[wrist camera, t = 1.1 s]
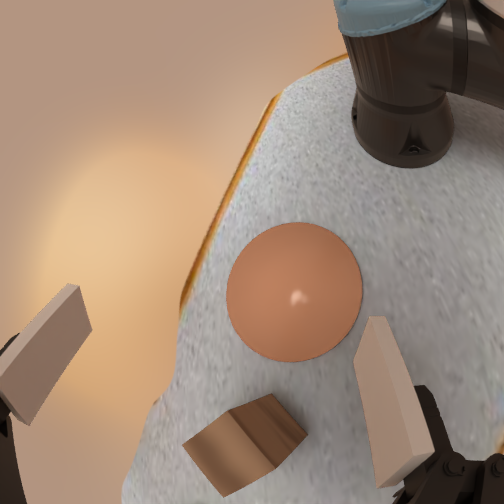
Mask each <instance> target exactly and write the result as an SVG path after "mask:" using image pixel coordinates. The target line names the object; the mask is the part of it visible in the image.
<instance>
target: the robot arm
mask: <svg viewBox="0 0 504 504" xmlns="http://www.w3.org/2000/svg"><path fill="white" fill-rule="evenodd" d="M334 6H335V10H336V13H337V17H338V27H339V30H340V32H341V33H342V36H343V39H344V42H345V45H346V48H347V52H348V55H349V59H350V62H351V66H352V70H353V74H354V77H355V81H356V85H357V88H356V93H355V98H354V102H353V107H352V113H351V117H352V124H353V128H354V132H355V135H356V138H357V140H358V141H359V143H360V144H361V146H362V147H363V148H364V149H365V150H366V151H367V152H368V153H369V154H370V155H372V156H373V157H375V158H376V159H378V160H380V161H382V162H384V163H387V164H390V165H393V166H397V167H404V168H417V167H423V166H427V165H430V164H432V163H434V162H436V161H438V160H439V159H440V158H442V157H443V156H444V155H445V154H446V152H447V151H448V149H449V147H450V145H451V142H452V137H453V132H454V121H453V116H452V113H451V110H450V106H449V102H448V99H447V96H446V92H451V93H455V94H458V95H462V96H465V97H468V98H472V99H475V100H478V101H481V102H484V103H487V104H490V105H492V106H495V107H498V108H501V109H503V110H504V0H334ZM91 331H92V328H91V325H90V321H89V318H88V315H87V312H86V308H85V305H84V301H83V298H82V294H81V291H80V287H79V286H78V285H72V284H67V285H66V286H65V287H64V288H63V289H62V290H61V291H60V292H59V293H58V294H57V295H56V296H55V297H54V298H53V299H52V300H51V301H50V302H49V303H48V304H47V305H46V306H45V307H44V308H43V309H42V310H41V311H40V312H39V313H38V314H37V316H36V317H35V318H34V319H33V320H32V321H31V322H30V323H29V324H28V325H27V326H26V327H25V329H24V330H23V331H22V332H21V333H18V334H17V335H15V336H14V337H12V338H11V339H10V340H9V341H8V342H7V343H6V344H5V345H4V348H2V349H1V350H0V504H27V502H26V498H25V495H24V491H23V487H22V483H21V478H20V474H19V469H18V464H17V458H16V453H15V446H14V439H13V432H12V422H11V419H10V416H9V413H10V412H12V413H13V415H14V416H15V417H16V418H17V419H18V420H19V421H21V422H23V423H24V424H26V425H28V426H30V424H31V422H32V421H33V419H34V417H35V416H36V414H37V412H38V411H39V409H40V407H41V406H42V404H43V403H44V401H45V399H46V398H47V396H48V395H49V393H50V392H51V390H52V388H53V387H54V385H55V384H56V382H57V381H58V379H59V377H60V376H61V375H62V373H63V372H64V370H65V369H66V367H67V365H68V364H69V363H70V361H71V360H72V358H73V357H74V355H75V354H76V353H77V351H78V350H79V348H80V347H81V345H82V344H83V343H84V341H85V340H86V338H87V337H88V336H89V334H90V333H91ZM353 364H354V368H355V373H356V377H357V382H358V386H359V391H360V396H361V400H362V405H363V410H364V415H365V420H366V426H367V431H368V436H369V442H370V448H371V454H372V460H373V466H374V473H375V480H376V487H377V488H384V487H389V486H395V485H397V484H398V483H399V482H401V481H402V480H404V485H405V486H404V487H403V488H402V489H400V490H399V491H398V492H396V493H395V494H394V495H393V497H396V496H397V498H396V499H395V501H394V502H393V504H504V455H503V454H500V453H497V454H493V455H492V456H490V457H489V458H488V459H487V460H485V461H471V460H465V458H464V457H463V456H462V455H461V454H459V453H457V452H454V451H453V449H452V447H451V444H450V441H449V438H448V435H447V432H446V429H445V426H444V423H443V420H442V418H441V417H440V412H439V410H438V408H437V404H436V402H435V399H434V397H433V394H432V393H431V392H430V391H429V390H428V389H427V387H426V386H425V385H420V386H413V383H412V381H411V378H410V375H409V373H408V370H407V368H406V365H405V363H404V360H403V358H402V355H401V353H400V350H399V348H398V345H397V343H396V340H395V338H394V336H393V333H392V331H391V329H390V326H389V324H388V322H387V319H386V317H385V316H369V318H368V321H367V324H366V327H365V330H364V333H363V335H362V338H361V341H360V344H359V346H358V349H357V352H356V355H355V357H354V360H353Z"/></svg>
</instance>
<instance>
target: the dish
mask: <svg viewBox="0 0 504 504" xmlns="http://www.w3.org/2000/svg"><path fill="white" fill-rule="evenodd" d="M226 301H227V309H228V313H229V317H230V320H231V323H232V325H233V327H234V329H235V331H236V332H237V334H238V335H239V337H240V338H241V339H242V340H243V342H244V343H245V344H246V345H247V346H249V347H250V348H251V349H252V350H253V351H255V352H257V353H258V354H260V355H262V356H264V357H267V358H269V359H272V360H276V361H282V362H298V361H304V360H309V359H312V358H315V357H318V356H320V355H322V354H324V353H326V352H328V351H329V350H331V349H332V348H334V347H335V346H336V345H337V344H338V343H340V342H341V341H342V340H343V338H344V337H345V336H346V335H347V334H348V332H349V331H350V329H351V328H352V326H353V325H354V322H355V320H356V318H357V316H358V313H359V310H360V306H361V301H362V279H361V274H360V270H359V267H358V265H357V262H356V259H355V257H354V256H353V254H352V252H351V250H350V249H349V248H348V247H347V245H346V244H345V243H344V242H343V241H342V240H341V239H340V238H339V237H338V236H336V235H335V234H334V233H332V232H331V231H329V230H327V229H325V228H323V227H320V226H317V225H314V224H309V223H300V222H299V223H287V224H282V225H279V226H275V227H273V228H271V229H268V230H266V231H265V232H263V233H261V234H259V235H258V236H257V237H256V238H254V239H253V240H252V241H251V242H250V243H249V244H248V245H247V246H246V247H245V248H244V249H243V250H242V252H241V253H240V255H239V256H238V258H237V259H236V261H235V263H234V265H233V267H232V270H231V272H230V275H229V279H228V284H227V293H226Z"/></svg>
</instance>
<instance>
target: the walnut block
mask: <svg viewBox="0 0 504 504" xmlns="http://www.w3.org/2000/svg"><path fill="white" fill-rule="evenodd" d="M307 435H308V434H307V433H306V432H305V431H304V430H303V429H302V428H301V427H300V426H299V424H298V423H297V422H296V421H295V420H294V419H293V418H292V417H291V416H290V414H289V413H288V412H287V411H286V410H285V409H284V408H283V406H282V405H281V404H280V403H279V402H278V401H277V400H276V398H275V397H274V396H273V395H272V394H269V395H267V396H264V397H262V398H259V399H257V400H254V401H252V402H249V403H247V404H244V405H241V406H239V407H236V408H233V409H230V410H228V411H226V412H225V413H224V414H222V415H221V416H220V417H219V418H217V419H216V420H215V421H213V422H212V423H211V424H210V425H208V426H207V427H206V428H204V429H203V430H202V431H200V432H199V433H198V434H196V435H195V436H194V437H192V438H191V439H189V440H188V441H187V442H185V443H184V444H183V445H182V446H183V447H184V449H185V450H186V451H187V453H188V454H189V455H190V457H191V458H192V459H193V461H194V462H195V463H196V465H197V466H198V467H199V469H200V470H201V471H202V472H203V474H204V475H205V476H206V477H207V479H208V480H209V481H210V482H211V483H212V485H213V486H214V487H215V488H216V489H217V491H218V492H219V493H220V494H221V495H222V496H223V498H224V497H226V496H228V495H230V494H232V493H234V492H236V491H238V490H239V489H241V488H243V487H245V486H247V485H249V484H250V483H252V482H254V481H256V480H258V479H259V478H261V477H263V476H264V475H266V474H268V473H269V472H271V471H273V470H274V469H276V468H277V467H278V466H279V465H280V464H281V463H282V462H283V461H284V460H285V459H286V458H287V457H288V456H289V455H290V454H291V453H292V451H293V450H294V449H295V448H296V447H297V446H298V445H299V444H300V443H301V442H302V441H303V440H304V438H305V437H306V436H307Z"/></svg>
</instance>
